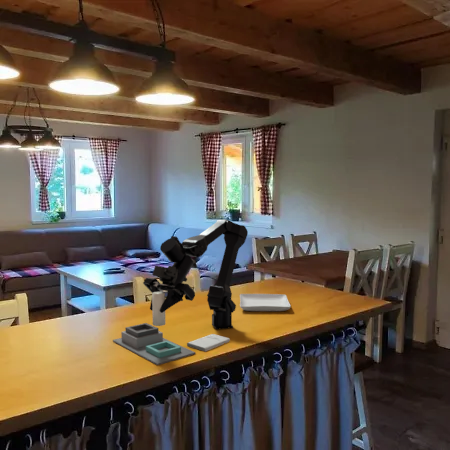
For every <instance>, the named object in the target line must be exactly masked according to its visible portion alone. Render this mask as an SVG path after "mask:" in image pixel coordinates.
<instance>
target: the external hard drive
mask: <svg viewBox="0 0 450 450" xmlns="http://www.w3.org/2000/svg"><path fill="white" fill-rule="evenodd" d="M229 341H230V342H231V338H229V337H226V336H222V335H218V334H215V333H211V334H208V335H206V336H203V337H199V338H197V339H195V340H191V341H189V342H187V343H186V346H187V347H190V348H193V349H196V350H198V351H199V350H200V351H202V352H207V351H210V350H212V349H215V348H217V347H220V346H222V345H224V343H225V344H227V343H230V342H229Z"/></svg>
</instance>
